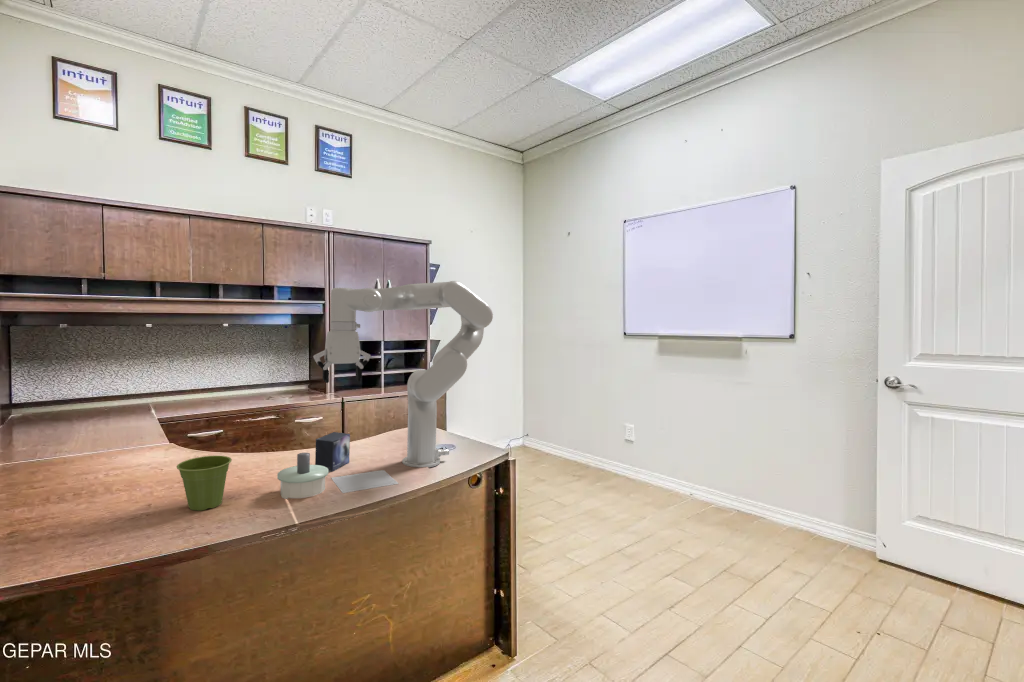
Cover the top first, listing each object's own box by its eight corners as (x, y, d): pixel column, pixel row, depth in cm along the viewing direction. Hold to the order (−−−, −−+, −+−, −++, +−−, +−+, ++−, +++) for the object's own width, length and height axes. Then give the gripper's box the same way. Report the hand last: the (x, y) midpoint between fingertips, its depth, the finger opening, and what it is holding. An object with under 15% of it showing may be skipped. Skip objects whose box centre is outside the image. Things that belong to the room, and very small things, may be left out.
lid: (322, 464, 144) (323, 445, 144) (333, 478, 133) (333, 457, 133) (274, 471, 137) (274, 451, 137) (281, 486, 126) (281, 464, 126)
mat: (383, 471, 155) (383, 469, 155) (398, 485, 143) (398, 483, 143) (330, 479, 146) (331, 477, 146) (342, 495, 134) (342, 493, 134)
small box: (332, 474, 151) (333, 440, 150) (313, 472, 152) (314, 439, 152) (350, 464, 161) (351, 432, 161) (332, 462, 163) (333, 431, 162)
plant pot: (183, 499, 128) (183, 457, 127) (235, 494, 132) (235, 454, 131) (170, 517, 117) (170, 471, 116) (227, 512, 121) (227, 467, 120)
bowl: (319, 483, 143) (319, 466, 143) (328, 495, 134) (328, 477, 133) (278, 489, 137) (278, 472, 137) (284, 503, 128) (284, 484, 127)
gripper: (367, 327, 161) (366, 378, 162) (311, 326, 151) (311, 381, 152) (374, 328, 154) (373, 381, 155) (316, 327, 145) (316, 384, 146)
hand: (342, 381), depth 154 cm, fingers open, 9 cm apart
